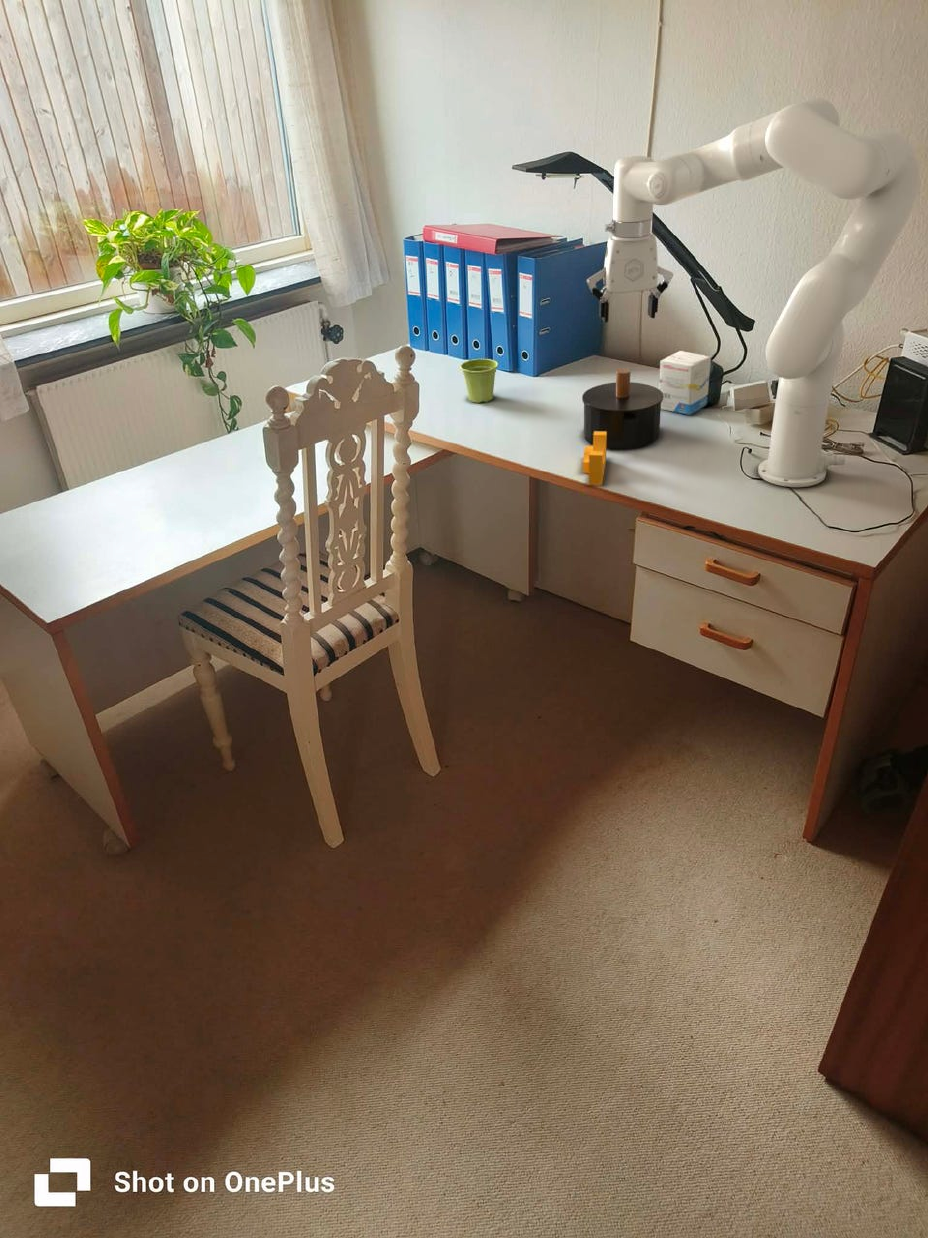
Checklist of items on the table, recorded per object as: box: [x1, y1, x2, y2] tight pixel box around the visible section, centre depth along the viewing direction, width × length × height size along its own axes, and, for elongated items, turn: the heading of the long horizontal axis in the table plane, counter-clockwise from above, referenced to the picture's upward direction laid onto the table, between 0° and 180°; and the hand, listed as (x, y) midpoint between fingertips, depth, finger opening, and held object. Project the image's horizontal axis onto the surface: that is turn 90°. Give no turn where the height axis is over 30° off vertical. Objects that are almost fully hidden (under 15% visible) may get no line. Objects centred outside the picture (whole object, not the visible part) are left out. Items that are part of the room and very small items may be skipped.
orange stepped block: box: [582, 431, 607, 486], centre depth 178 cm, size 12×4×6 cm, turn 168°
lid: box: [581, 368, 663, 413], centre depth 188 cm, size 17×17×7 cm
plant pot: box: [459, 358, 499, 403], centre depth 217 cm, size 9×9×9 cm
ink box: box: [658, 350, 712, 416], centre depth 203 cm, size 9×8×12 cm
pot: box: [583, 403, 662, 451], centre depth 192 cm, size 16×22×8 cm
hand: (628, 318), depth 179 cm, fingers open, 9 cm apart
